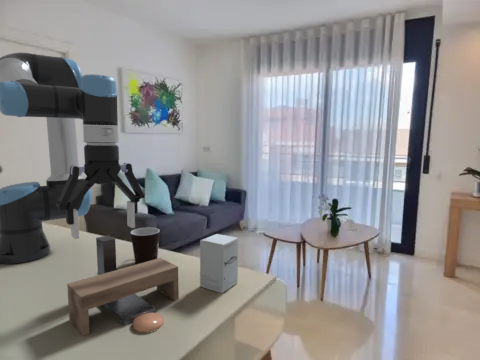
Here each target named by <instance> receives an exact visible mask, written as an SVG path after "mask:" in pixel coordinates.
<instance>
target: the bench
mask: <svg viewBox="0 0 480 360" xmlns="http://www.w3.org/2000/svg"><path fill="white" fill-rule="evenodd" d="M66 284H67V285H66V286H67V300H68V317H69V318H68V320H69V321H70V322H71V323H72V325H73V326H74V327H75V328H76V329H77V331H78V332H79V333H80V334H81V335H82V336H83V337H85V336H87V335H89V334H90V316H89V314H90V313H89V310H91V309H93V308H97V307H100V306H103V304H106V303H109V302H112V301H115V300H118V299H121V298H124V297H127V296H129V295H132V294H138V293H140V292H144V291H147V290H149V289H150V290H151V289H152V288H156V290H157V291H159V292H160V293H162V294H164V295H165V296H167V297H169V298H170V299H172V300H173V301H176V300H179V298H180V297H179V293H180V290H179V266H178V265H176V264H173V263H171V262H169V261H167V260H165V259H163V258H161V257H157V259H154V260H151V261H147V262H144V263H140V264H137V265H136V264H133V265H130V266H126V267H122V268H119V269H117V270H115V271H111V272H108V273H104V274H101V275H98V274H97V275H93V276H90V277H87V278H83V279H81V280H76V281H72V282H69V283H66Z"/></svg>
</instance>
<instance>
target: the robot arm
mask: <svg viewBox="0 0 480 360" xmlns="http://www.w3.org/2000/svg"><path fill="white" fill-rule="evenodd" d="M118 92H119V91H118V87H117V81H116V79H115V78H114V77H112V76H109V75H104V74H84V75H83V73H82V70H81V68H80V65H79V64H78V63H77V61H75V60H74V59H69V58H65V57H61V56H60V57H59V56H51V55H44V54H35V53H29V52H14V53H8V54H5V55H2V56H1V57H0V113H1V114H2V115H4V116H7V117H8V116H9V117H10V116H11V117H17V118H24V117H25V118H26V117H27V118H46V129H47V141H48V142H47V143H48V152H49V154H48V155H49V156H48V157H49V167H50V175H49V177H47V179H46V180H45V182H46V185H41V184H40V182H38V181H29V182H28V181H27V182H21V183H15V184H10V185H7V186H4V187H1V188H0V264H3V265H4V264H6V265H7V264H8V265H9V264H10V265H13V264H21V263H28V262H31V261H32V262H33V261H35V260H38V259H42V258H44V257H46V256H48V255H50V253H51V244H50V243H49V241H48V238H47V236H46V234H45V231H44V230H43V222H47V221H48V222H49V221H55V220H63V219H65V222H66V224H67V225H70V231H71V234H70V235H71V237H72V238H73V239H74V240H79V239H80V231H79V217H83V216H86V215H87V213H88V212H89V211H90V208H91V203H92V190H91V188H92V187H93V186H94V185H103V184H112V183H113V184H114V185H116V187H117V188H118V189H119V190H120V191H121V192H122V193H123V194H124V195H125V196H126V197H127V198H128V199H129V200H126V217H127V218H126V219H127V220H126V222H127V227H130V229H131V228H132V229H134V228H135V229H136V214H138V212H139V210H138V207H139V206H138V203H139V202H140V201H141V199H144V198H145V193H144V192H143V189H142V188H141V185H140V183H139V182H138V180H137V178H136V176H135V174H134V171H133V165H132V163H129V162H124V163H122V164H120V161H119V160H120V154H119V153H120V150H119V146H118V145H117V144H118V143H119V123H118V122H119V119H118V117H119V116H118V114H119V113H118V95H119V93H118ZM76 119H80V120H82V125H83V126H82V127H83V128H82V130H83V131H82V133H83V135H82V137H83V142H84V143H85V145H84V146H83V154H84V155H83V156H84V165H83V166H80V165H79V155H78V154H79V153H78V139H77V130H76V129H77V128H76V126H77V125H76ZM120 171H121V172H122V173H123V174H124V176H125V178H126V180H127V181H128V183H129V185H130V187H131V189H132V190H131V189H130V188H129V186H127V185H126V184H125V182H124V181H123V179H122V178H121V177H120V176H119V175H118V174H119V173H120ZM83 173H84V174H85V177H84V176H82V175H83Z"/></svg>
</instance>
